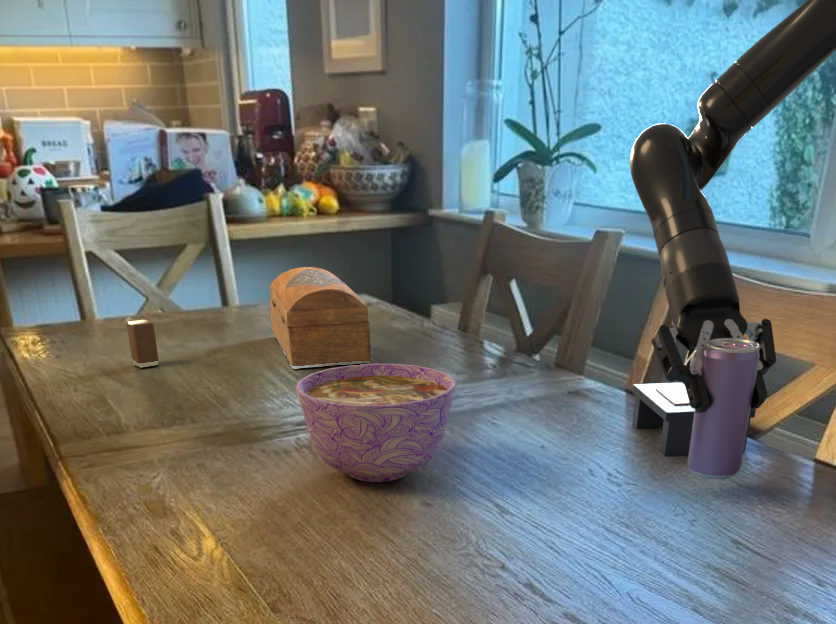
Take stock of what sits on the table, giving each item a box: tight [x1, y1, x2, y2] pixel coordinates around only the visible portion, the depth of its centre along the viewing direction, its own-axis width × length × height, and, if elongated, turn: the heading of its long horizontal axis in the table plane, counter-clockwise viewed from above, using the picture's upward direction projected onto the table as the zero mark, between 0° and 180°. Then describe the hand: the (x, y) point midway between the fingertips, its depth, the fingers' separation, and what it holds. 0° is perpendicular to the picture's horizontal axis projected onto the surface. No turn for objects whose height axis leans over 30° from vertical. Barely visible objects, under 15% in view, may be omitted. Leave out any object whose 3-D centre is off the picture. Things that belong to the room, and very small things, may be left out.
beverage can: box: [686, 338, 760, 480], centre depth 104 cm, size 6×6×15 cm
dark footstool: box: [631, 382, 757, 457], centre depth 126 cm, size 12×14×6 cm
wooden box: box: [269, 266, 372, 366], centre depth 176 cm, size 30×16×14 cm, turn 12°
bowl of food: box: [295, 363, 457, 483], centre depth 115 cm, size 20×20×12 cm
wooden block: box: [126, 319, 160, 363], centre depth 168 cm, size 4×4×8 cm
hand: (730, 407), depth 102 cm, fingers closed on beverage can, 6 cm apart
